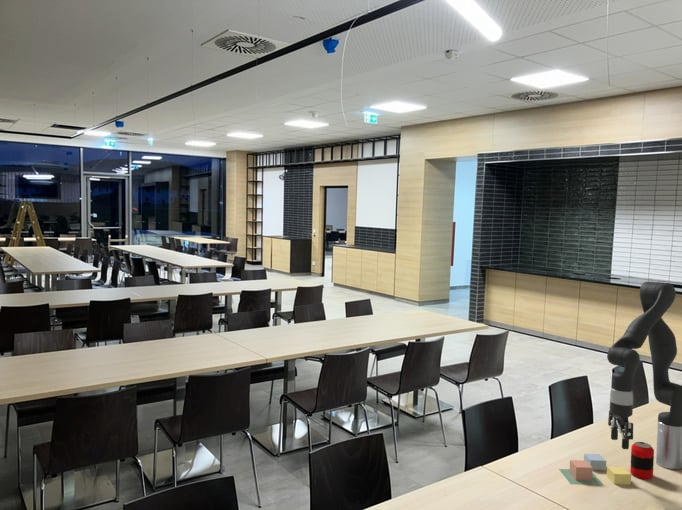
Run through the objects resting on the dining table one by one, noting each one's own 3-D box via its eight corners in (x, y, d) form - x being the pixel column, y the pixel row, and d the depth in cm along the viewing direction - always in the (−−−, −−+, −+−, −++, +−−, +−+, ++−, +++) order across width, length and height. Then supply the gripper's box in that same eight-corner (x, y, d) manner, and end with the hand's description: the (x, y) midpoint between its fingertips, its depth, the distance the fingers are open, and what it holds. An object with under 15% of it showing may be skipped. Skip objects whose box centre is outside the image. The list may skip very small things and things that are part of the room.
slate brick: (598, 466, 211) (599, 454, 211) (605, 473, 205) (606, 460, 205) (583, 465, 211) (584, 453, 211) (590, 472, 205) (590, 460, 205)
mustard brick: (622, 479, 200) (623, 466, 199) (630, 487, 194) (631, 474, 194) (606, 479, 200) (606, 466, 200) (613, 487, 194) (614, 473, 194)
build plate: (590, 472, 205) (590, 469, 205) (603, 487, 193) (604, 485, 193) (558, 471, 206) (558, 468, 206) (570, 486, 194) (570, 484, 194)
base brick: (585, 473, 202) (585, 460, 202) (592, 480, 196) (592, 467, 196) (569, 472, 203) (569, 460, 202) (575, 480, 197) (576, 467, 196)
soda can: (650, 472, 206) (651, 442, 205) (655, 481, 198) (656, 450, 198) (628, 469, 208) (629, 439, 207) (632, 478, 201) (633, 447, 200)
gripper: (641, 408, 188) (639, 452, 189) (622, 395, 202) (620, 436, 203) (620, 407, 188) (618, 451, 189) (602, 394, 202) (600, 436, 203)
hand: (619, 444), depth 196 cm, fingers open, 8 cm apart
